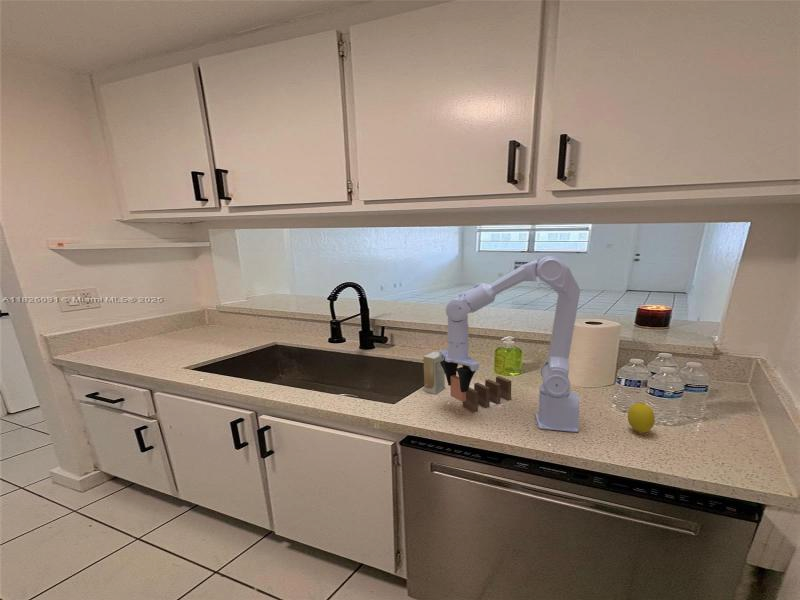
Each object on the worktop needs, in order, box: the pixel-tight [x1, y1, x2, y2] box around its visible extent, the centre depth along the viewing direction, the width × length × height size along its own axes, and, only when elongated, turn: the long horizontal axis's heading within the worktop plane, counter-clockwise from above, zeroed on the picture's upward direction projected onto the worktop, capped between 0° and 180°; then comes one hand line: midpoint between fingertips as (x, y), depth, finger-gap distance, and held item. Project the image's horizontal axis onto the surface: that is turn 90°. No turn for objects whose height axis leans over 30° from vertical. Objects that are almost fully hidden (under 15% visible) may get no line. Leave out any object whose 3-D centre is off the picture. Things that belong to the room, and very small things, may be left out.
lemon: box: [627, 401, 656, 434], centre depth 90 cm, size 6×6×8 cm
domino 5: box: [495, 375, 512, 402], centre depth 112 cm, size 1×5×6 cm, turn 31°
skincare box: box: [423, 351, 446, 395], centre depth 119 cm, size 6×4×12 cm
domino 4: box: [484, 378, 502, 405], centre depth 110 cm, size 1×5×6 cm, turn 31°
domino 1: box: [449, 374, 466, 403], centre depth 103 cm, size 1×5×6 cm, turn 31°
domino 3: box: [473, 382, 491, 409], centre depth 108 cm, size 1×5×6 cm, turn 31°
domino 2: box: [462, 386, 479, 413], centre depth 106 cm, size 1×5×6 cm, turn 31°
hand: (458, 387), depth 103 cm, fingers closed on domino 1, 5 cm apart
